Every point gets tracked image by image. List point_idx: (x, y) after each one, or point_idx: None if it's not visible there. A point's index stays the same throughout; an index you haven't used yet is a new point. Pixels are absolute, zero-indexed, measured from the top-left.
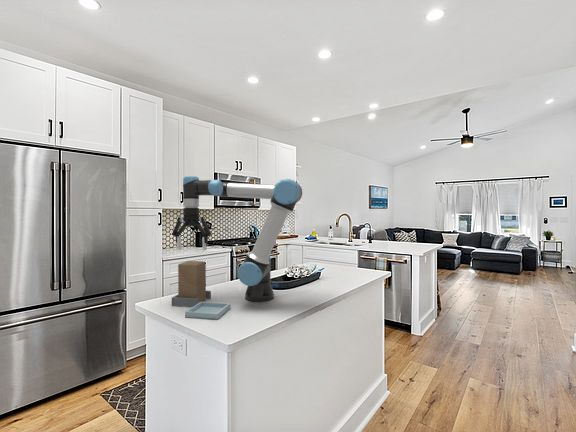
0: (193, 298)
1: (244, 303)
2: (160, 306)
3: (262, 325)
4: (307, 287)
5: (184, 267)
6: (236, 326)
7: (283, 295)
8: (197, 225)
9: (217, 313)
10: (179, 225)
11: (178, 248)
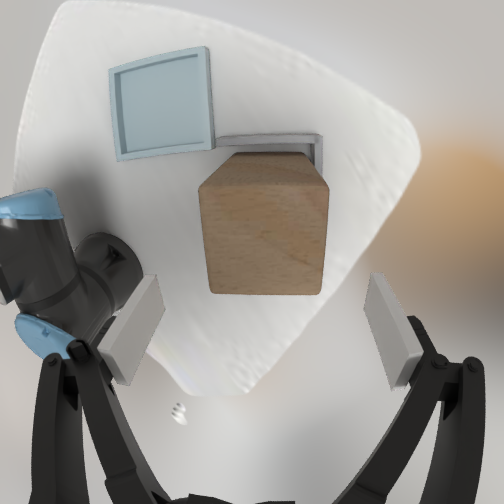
0: (235, 143)
1: (115, 212)
2: (350, 123)
3: (34, 94)
4: None
5: (281, 179)
6: (69, 62)
7: None
8: (109, 478)
9: (110, 72)
10: (434, 484)
11: (375, 278)
